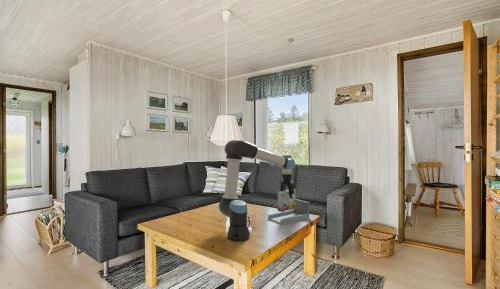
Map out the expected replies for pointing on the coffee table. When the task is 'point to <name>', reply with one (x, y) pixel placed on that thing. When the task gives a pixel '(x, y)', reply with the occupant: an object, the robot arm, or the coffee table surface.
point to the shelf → (292, 213)
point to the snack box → (286, 200)
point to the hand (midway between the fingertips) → (287, 201)
